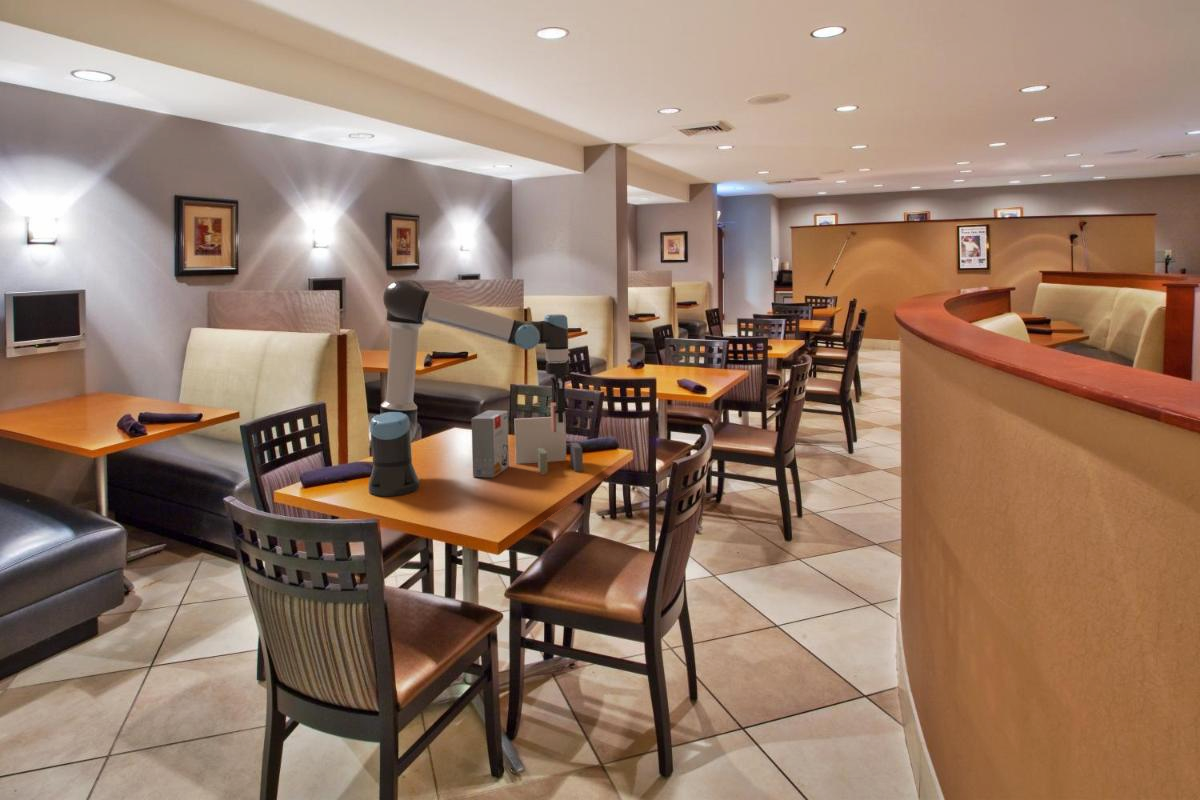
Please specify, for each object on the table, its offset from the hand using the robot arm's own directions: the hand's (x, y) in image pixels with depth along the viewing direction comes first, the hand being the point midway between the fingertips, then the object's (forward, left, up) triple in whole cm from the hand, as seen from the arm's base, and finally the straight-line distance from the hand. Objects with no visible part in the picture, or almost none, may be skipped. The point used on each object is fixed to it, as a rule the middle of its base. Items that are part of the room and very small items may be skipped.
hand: (558, 429), depth 238 cm
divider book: (-6, +1, -14) cm, 15 cm away
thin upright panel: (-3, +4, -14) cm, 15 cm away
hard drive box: (-23, +4, -14) cm, 27 cm away
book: (0, 0, 0) cm, 0 cm away
